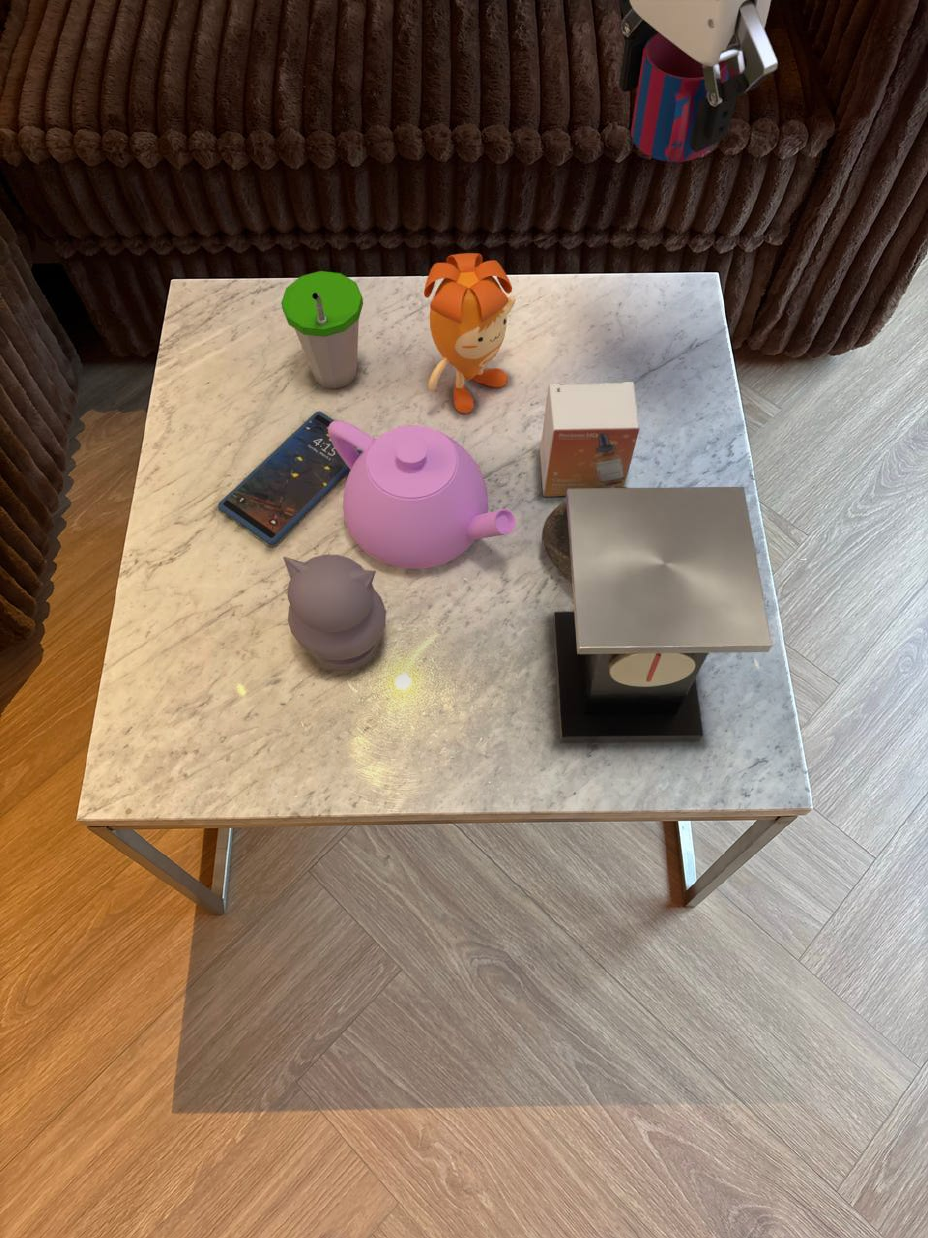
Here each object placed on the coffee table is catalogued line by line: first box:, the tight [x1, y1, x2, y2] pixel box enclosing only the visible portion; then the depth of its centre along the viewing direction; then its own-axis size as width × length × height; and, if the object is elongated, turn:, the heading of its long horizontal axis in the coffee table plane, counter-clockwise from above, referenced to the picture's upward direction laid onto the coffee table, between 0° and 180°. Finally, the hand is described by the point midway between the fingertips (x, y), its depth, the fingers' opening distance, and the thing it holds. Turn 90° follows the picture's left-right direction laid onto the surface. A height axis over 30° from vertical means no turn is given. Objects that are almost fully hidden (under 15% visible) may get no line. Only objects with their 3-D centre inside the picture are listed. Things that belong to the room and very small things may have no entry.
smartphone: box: [217, 411, 363, 547], centre depth 94 cm, size 8×1×15 cm
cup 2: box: [630, 33, 729, 163], centre depth 73 cm, size 7×10×7 cm
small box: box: [539, 381, 640, 498], centre depth 90 cm, size 8×6×10 cm
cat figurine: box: [282, 554, 387, 672], centre depth 81 cm, size 8×8×12 cm
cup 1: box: [280, 270, 364, 391], centre depth 94 cm, size 8×8×15 cm
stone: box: [541, 485, 628, 585], centre depth 88 cm, size 11×11×5 cm
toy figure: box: [423, 252, 517, 415], centre depth 93 cm, size 12×8×15 cm, turn 134°
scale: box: [552, 486, 773, 744], centre depth 75 cm, size 13×13×20 cm
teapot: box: [328, 419, 517, 570], centre depth 87 cm, size 14×20×11 cm
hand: (671, 112), depth 74 cm, fingers closed on cup 2, 8 cm apart
